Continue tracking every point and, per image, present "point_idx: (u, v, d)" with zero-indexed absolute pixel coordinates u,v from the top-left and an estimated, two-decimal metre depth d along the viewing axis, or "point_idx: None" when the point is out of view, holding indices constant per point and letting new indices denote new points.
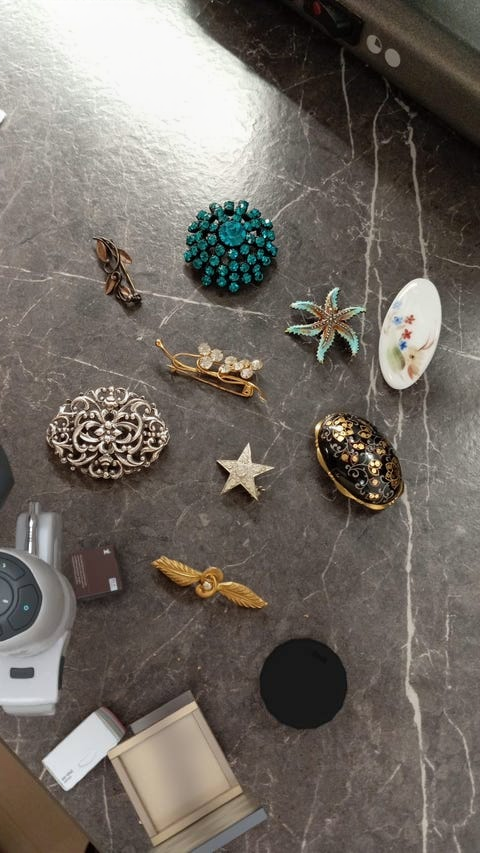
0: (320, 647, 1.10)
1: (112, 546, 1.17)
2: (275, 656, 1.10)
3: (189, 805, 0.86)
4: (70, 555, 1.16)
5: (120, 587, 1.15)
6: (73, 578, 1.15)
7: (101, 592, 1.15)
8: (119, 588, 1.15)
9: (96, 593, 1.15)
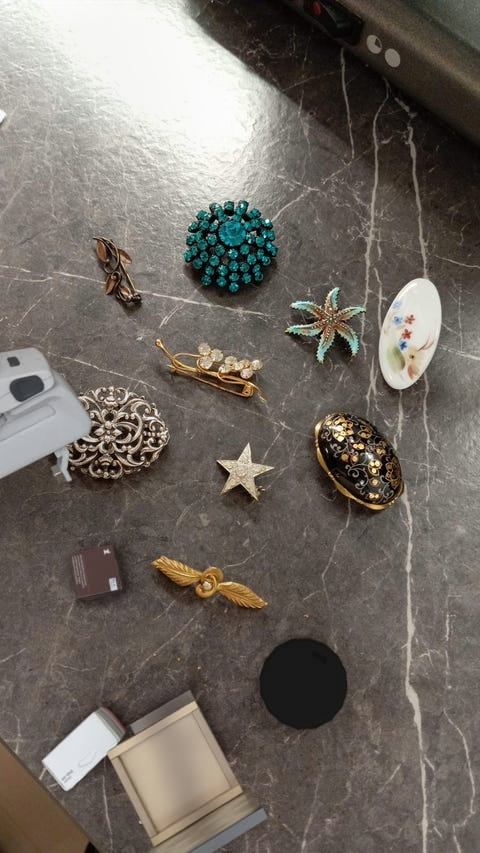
0: (320, 647, 1.10)
1: (112, 546, 1.17)
2: (275, 656, 1.10)
3: (189, 805, 0.86)
4: (70, 555, 1.16)
5: (120, 587, 1.15)
6: (73, 578, 1.15)
7: (101, 592, 1.15)
8: (119, 588, 1.15)
9: (96, 593, 1.15)
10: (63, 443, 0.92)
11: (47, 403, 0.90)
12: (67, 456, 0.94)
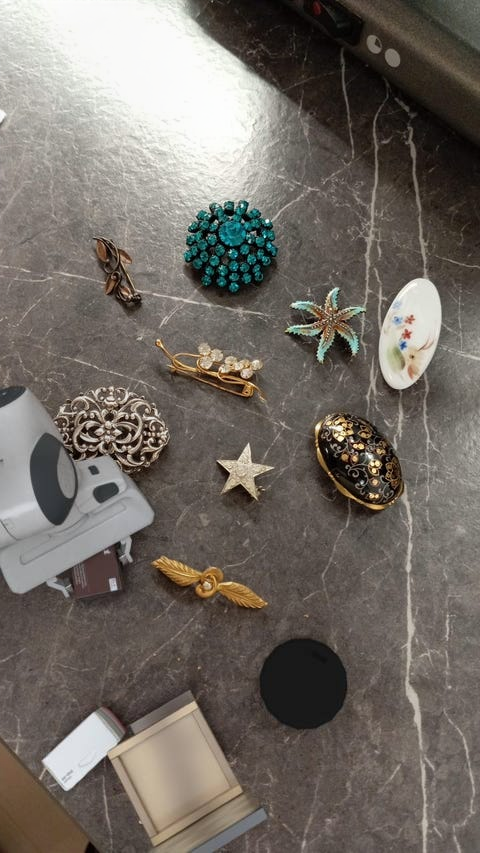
0: (320, 647, 1.10)
1: (112, 546, 1.17)
2: (275, 656, 1.10)
3: (189, 805, 0.86)
4: None
5: (120, 587, 1.15)
6: (73, 578, 1.15)
7: (101, 592, 1.15)
8: (119, 588, 1.15)
9: (96, 593, 1.15)
10: (131, 531, 1.15)
11: (120, 501, 1.12)
12: (130, 543, 1.17)
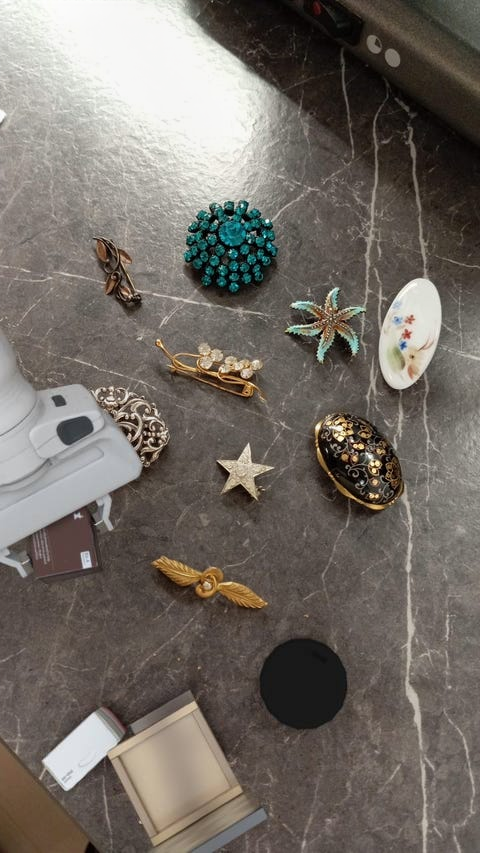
0: (320, 647, 1.10)
1: (85, 508, 0.86)
2: (275, 656, 1.10)
3: (189, 805, 0.86)
4: None
5: (95, 564, 0.85)
6: (32, 551, 0.85)
7: (70, 570, 0.85)
8: (94, 565, 0.85)
9: (63, 571, 0.85)
10: (111, 488, 0.85)
11: (95, 445, 0.82)
12: (109, 504, 0.86)
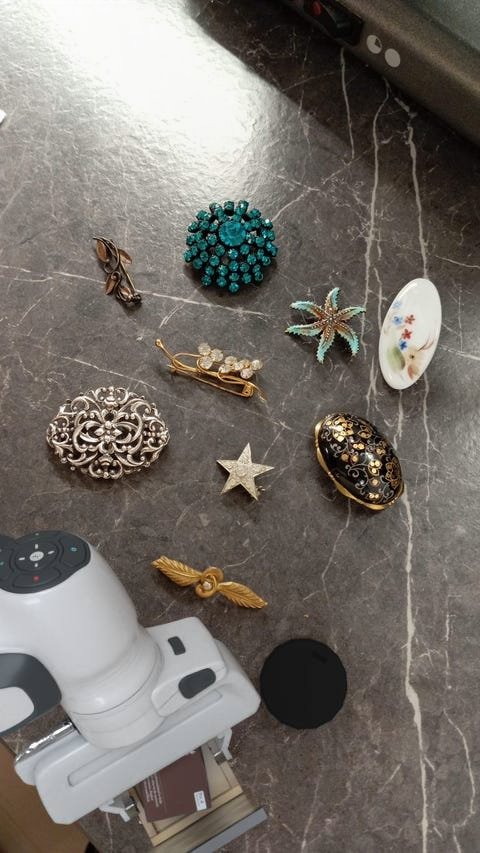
0: (320, 647, 1.10)
1: None
2: (275, 656, 1.10)
3: None
4: None
5: (210, 805, 0.80)
6: (142, 792, 0.80)
7: (183, 813, 0.79)
8: (209, 806, 0.80)
9: (176, 815, 0.79)
10: (228, 726, 0.79)
11: (214, 689, 0.76)
12: (229, 735, 0.80)
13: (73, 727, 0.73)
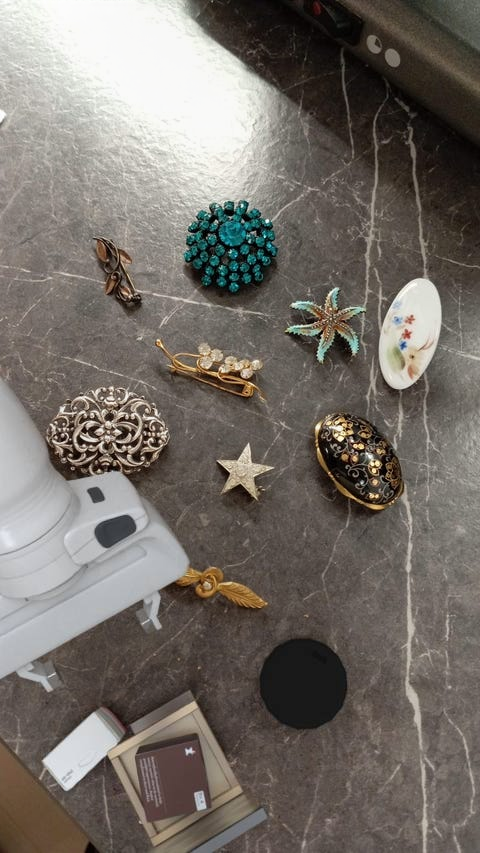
0: (320, 647, 1.10)
1: (197, 743, 0.81)
2: (275, 656, 1.10)
3: None
4: (137, 757, 0.80)
5: (210, 805, 0.80)
6: (142, 792, 0.80)
7: (183, 813, 0.79)
8: (209, 806, 0.80)
9: (176, 815, 0.79)
10: (154, 589, 0.74)
11: (137, 543, 0.72)
12: (158, 601, 0.76)
13: None
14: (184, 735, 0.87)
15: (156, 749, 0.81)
